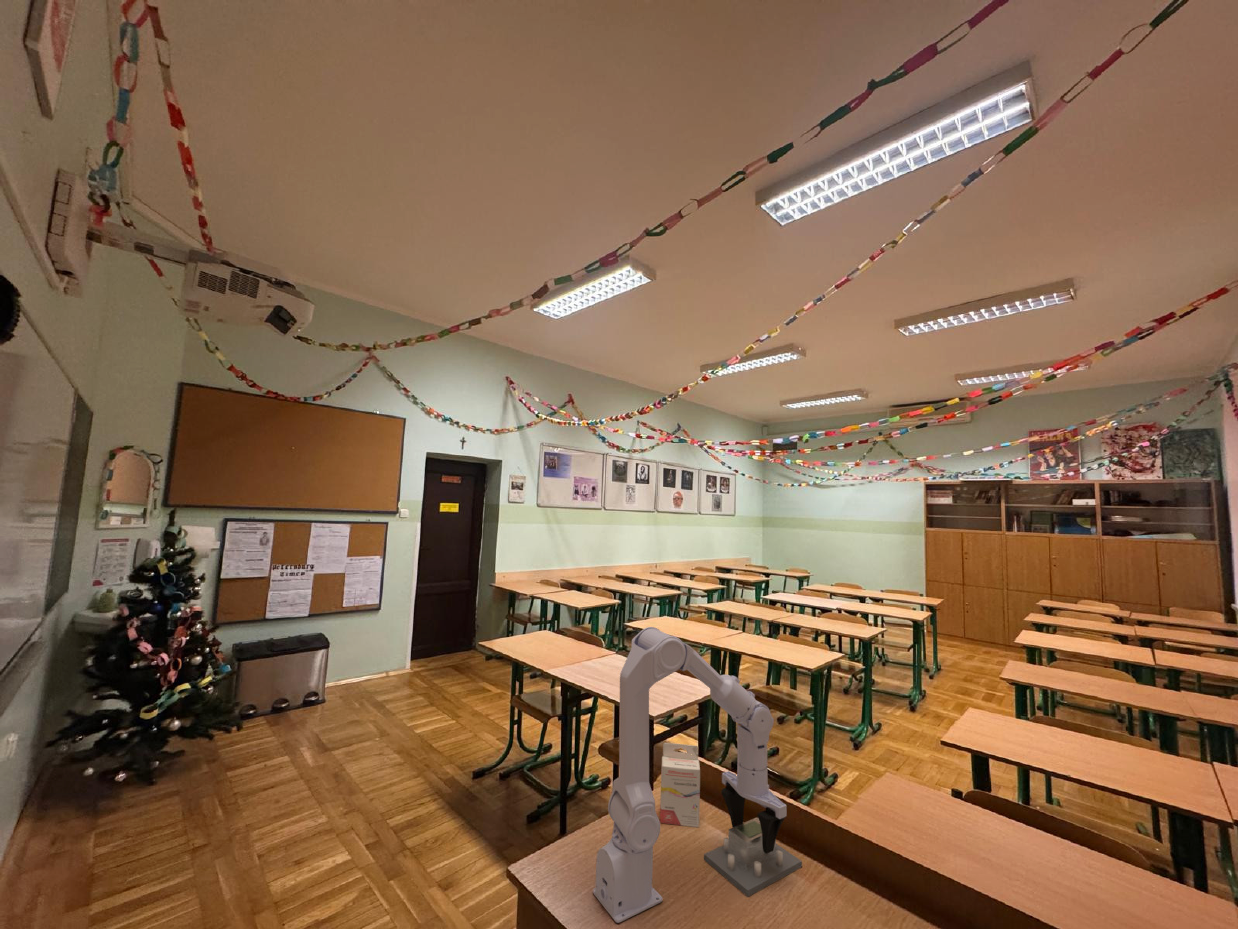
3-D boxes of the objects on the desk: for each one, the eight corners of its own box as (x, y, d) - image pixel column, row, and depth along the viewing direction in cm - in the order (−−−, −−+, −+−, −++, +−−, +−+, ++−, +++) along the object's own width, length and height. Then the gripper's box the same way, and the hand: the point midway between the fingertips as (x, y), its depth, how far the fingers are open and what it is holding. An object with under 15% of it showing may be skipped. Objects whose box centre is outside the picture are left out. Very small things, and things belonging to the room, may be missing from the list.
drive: (746, 872, 88) (746, 842, 88) (728, 858, 91) (728, 829, 92) (776, 857, 92) (776, 828, 93) (758, 844, 96) (758, 816, 97)
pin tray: (747, 897, 83) (747, 878, 83) (703, 859, 92) (704, 842, 93) (802, 867, 91) (801, 849, 91) (756, 835, 100) (756, 819, 101)
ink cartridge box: (659, 824, 103) (661, 751, 105) (660, 811, 108) (661, 741, 110) (699, 828, 102) (700, 754, 104) (698, 815, 107) (699, 744, 109)
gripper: (796, 775, 90) (797, 854, 88) (738, 745, 102) (738, 814, 100) (771, 784, 86) (772, 868, 85) (714, 752, 98) (714, 824, 97)
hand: (752, 839), depth 92 cm, fingers open, 7 cm apart
